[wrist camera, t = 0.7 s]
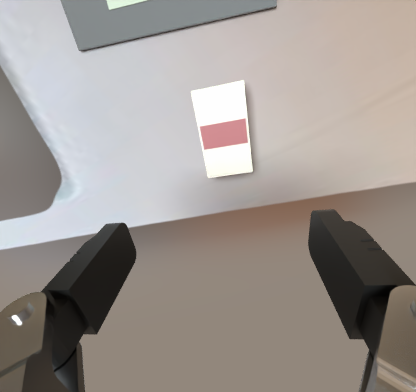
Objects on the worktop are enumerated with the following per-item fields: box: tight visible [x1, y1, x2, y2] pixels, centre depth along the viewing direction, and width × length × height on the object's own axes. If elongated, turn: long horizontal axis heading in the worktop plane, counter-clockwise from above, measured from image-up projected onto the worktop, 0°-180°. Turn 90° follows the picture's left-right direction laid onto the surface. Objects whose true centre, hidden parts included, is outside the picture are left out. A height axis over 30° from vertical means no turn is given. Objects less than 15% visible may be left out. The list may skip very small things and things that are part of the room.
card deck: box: [191, 80, 253, 178], centre depth 24 cm, size 5×9×4 cm, turn 11°
